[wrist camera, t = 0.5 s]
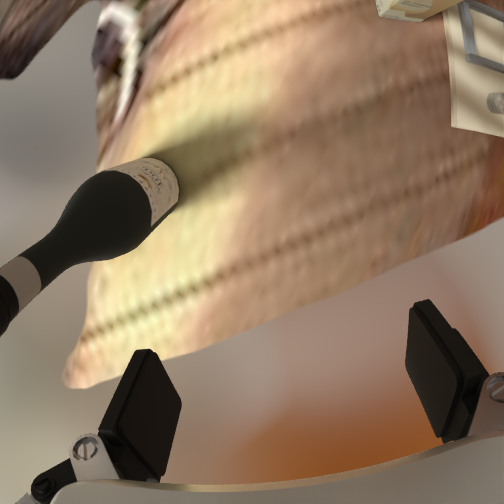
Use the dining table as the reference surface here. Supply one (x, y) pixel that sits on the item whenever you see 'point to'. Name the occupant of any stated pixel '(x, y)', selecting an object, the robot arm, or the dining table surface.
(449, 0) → the skincare box
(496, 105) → the steel pin
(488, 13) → the board
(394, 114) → the dining table surface
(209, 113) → the dining table surface
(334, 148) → the dining table surface
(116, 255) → the wine bottle
